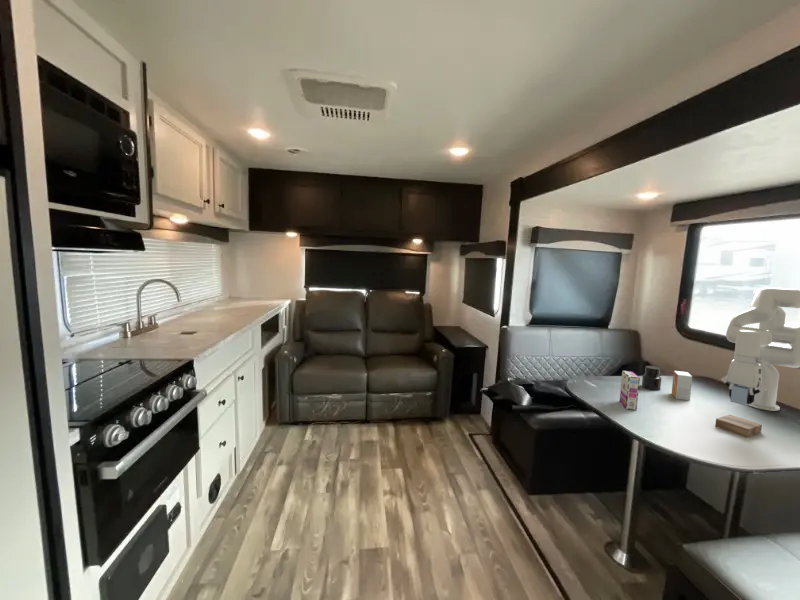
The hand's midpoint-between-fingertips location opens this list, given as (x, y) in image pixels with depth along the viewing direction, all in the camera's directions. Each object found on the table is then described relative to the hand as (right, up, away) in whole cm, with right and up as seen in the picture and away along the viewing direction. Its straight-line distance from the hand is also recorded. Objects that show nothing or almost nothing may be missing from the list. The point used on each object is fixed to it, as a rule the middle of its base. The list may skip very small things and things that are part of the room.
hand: (741, 400), depth 154 cm
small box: (+4, -9, +39) cm, 40 cm away
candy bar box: (-32, -10, +26) cm, 42 cm away
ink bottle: (-2, -8, +52) cm, 53 cm away
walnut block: (0, -13, +2) cm, 14 cm away
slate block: (0, -1, 0) cm, 1 cm away
